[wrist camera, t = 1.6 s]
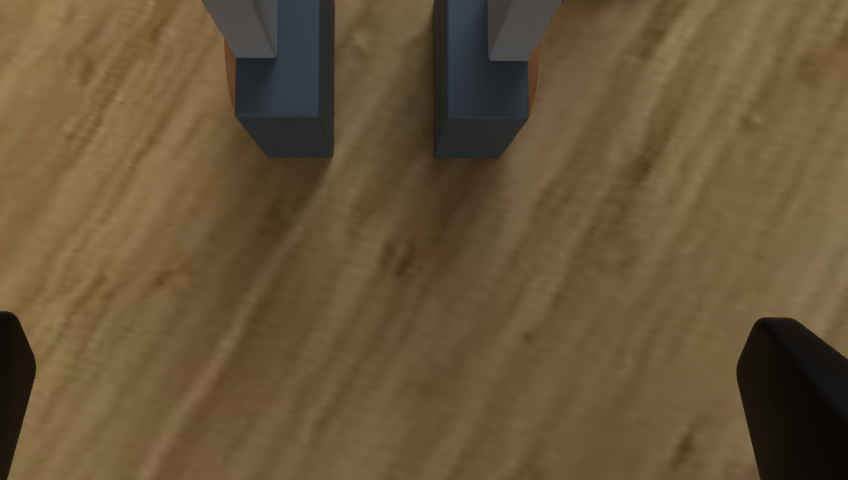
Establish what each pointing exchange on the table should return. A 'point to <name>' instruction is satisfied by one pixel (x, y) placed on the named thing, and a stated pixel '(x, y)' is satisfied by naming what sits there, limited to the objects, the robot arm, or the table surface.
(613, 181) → the table surface
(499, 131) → the dark blocky forked piece
